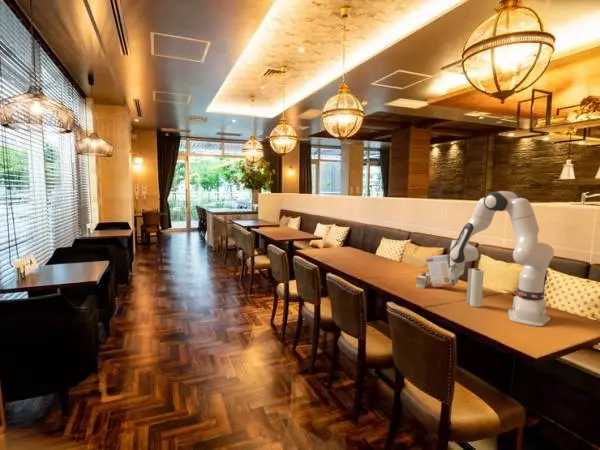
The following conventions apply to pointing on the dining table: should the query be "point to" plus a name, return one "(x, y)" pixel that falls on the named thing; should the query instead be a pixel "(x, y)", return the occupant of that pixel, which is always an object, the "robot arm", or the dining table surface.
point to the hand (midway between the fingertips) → (455, 283)
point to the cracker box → (439, 270)
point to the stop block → (423, 280)
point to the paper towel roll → (475, 287)
